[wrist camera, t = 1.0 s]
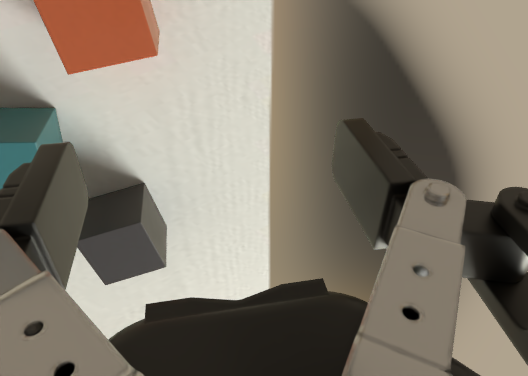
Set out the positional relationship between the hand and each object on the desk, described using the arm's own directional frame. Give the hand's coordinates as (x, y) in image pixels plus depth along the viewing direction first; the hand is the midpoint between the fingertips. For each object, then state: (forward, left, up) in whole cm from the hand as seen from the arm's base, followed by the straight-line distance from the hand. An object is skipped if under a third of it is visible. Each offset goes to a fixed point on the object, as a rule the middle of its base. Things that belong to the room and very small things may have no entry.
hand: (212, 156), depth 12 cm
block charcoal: (+13, -6, -14) cm, 20 cm away
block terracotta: (-2, -4, -14) cm, 15 cm away
